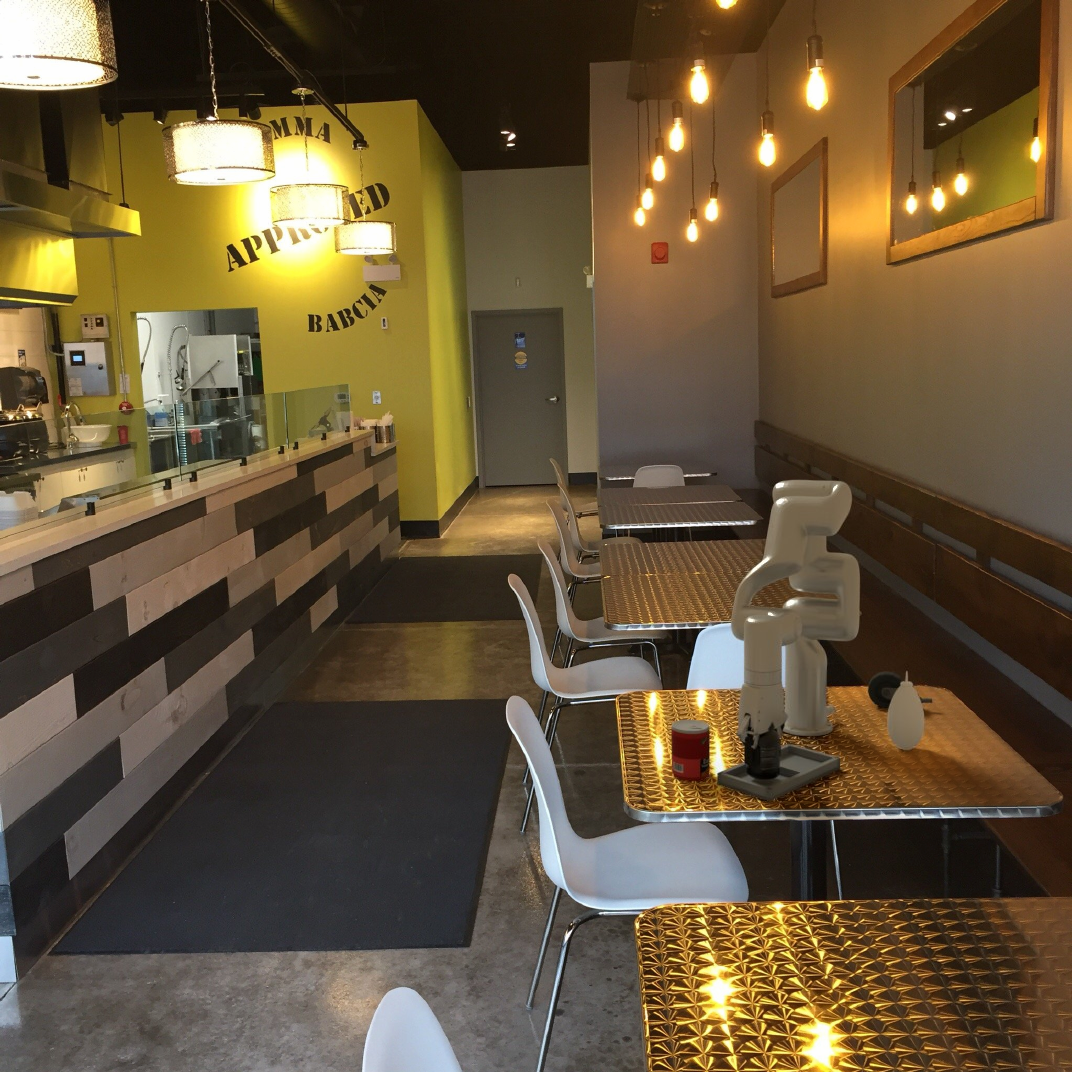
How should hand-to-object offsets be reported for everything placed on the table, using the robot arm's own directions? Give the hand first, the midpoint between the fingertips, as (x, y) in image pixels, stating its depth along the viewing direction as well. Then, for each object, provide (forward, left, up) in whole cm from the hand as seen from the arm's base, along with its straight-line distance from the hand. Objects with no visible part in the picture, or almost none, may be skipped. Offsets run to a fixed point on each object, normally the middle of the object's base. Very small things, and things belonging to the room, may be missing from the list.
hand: (762, 759), depth 218 cm
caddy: (-6, 0, -5) cm, 8 cm away
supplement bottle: (0, 0, -3) cm, 3 cm away
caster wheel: (-65, -6, -5) cm, 65 cm away
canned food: (+6, -14, -5) cm, 16 cm away
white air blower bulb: (-39, +10, -5) cm, 40 cm away
